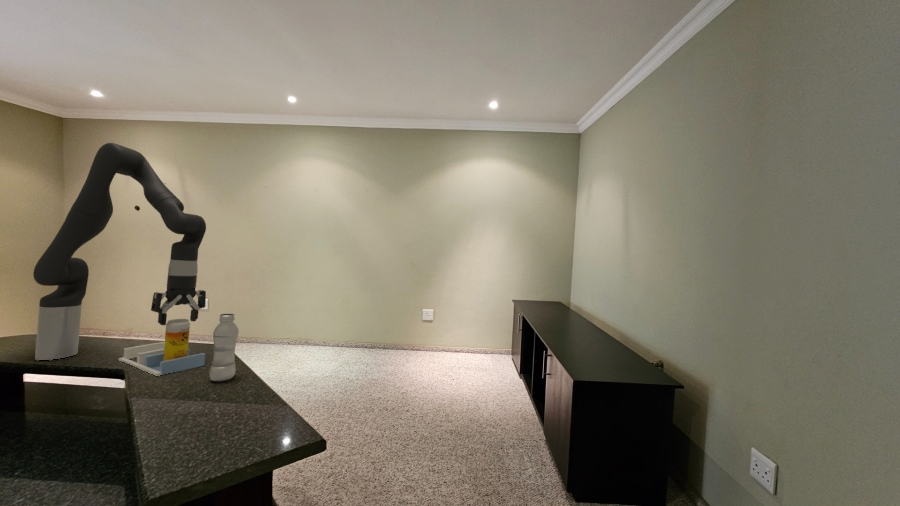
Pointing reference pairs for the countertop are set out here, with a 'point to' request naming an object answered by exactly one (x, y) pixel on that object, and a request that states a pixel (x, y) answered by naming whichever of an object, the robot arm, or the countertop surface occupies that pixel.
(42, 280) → the robot arm
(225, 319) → the plastic bottle
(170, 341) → the beer can
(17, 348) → the countertop surface
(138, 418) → the countertop surface
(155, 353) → the rack
